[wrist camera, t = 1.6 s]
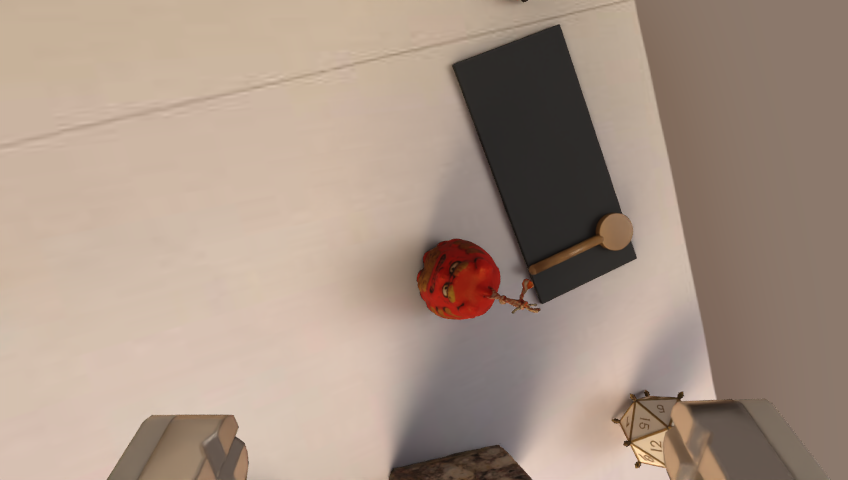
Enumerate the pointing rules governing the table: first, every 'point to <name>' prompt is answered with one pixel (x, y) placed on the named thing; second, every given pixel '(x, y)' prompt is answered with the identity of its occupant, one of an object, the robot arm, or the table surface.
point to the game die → (648, 427)
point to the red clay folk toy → (463, 281)
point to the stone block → (465, 467)
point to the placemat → (543, 156)
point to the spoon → (594, 241)
